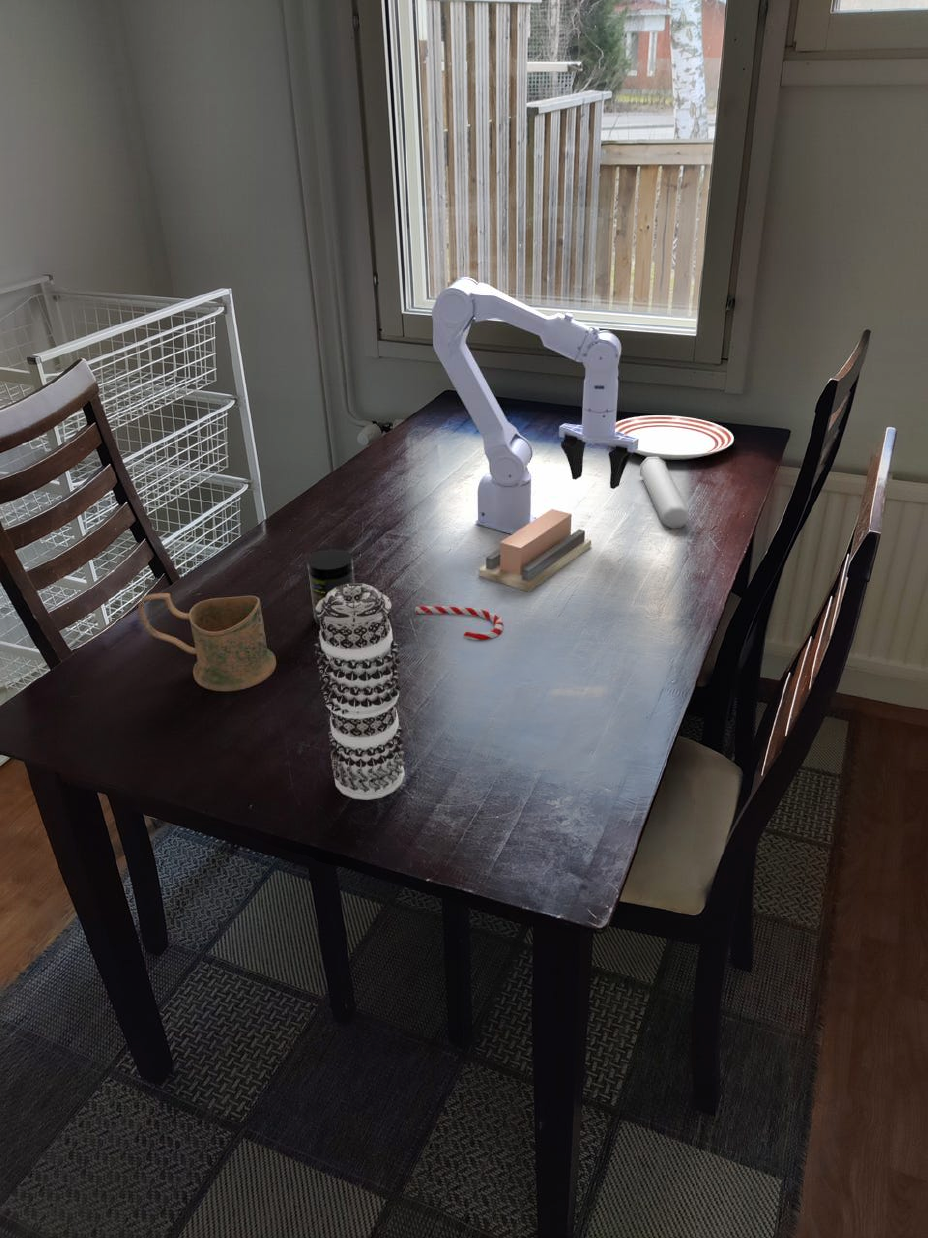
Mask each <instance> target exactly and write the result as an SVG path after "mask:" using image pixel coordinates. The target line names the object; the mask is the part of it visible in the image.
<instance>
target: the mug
mask: <svg viewBox="0 0 928 1238" xmlns="http://www.w3.org/2000/svg"><path fill="white" fill-rule="evenodd" d="M151 600H152V601H153V600H165V601H166V605H167V608H168V609H169V611H170V612H171V613H172V615H174V616H175V617H177V618H179V619H183V620H189V622H190V627H191V633H192V638H193V642H194V646H195V647H192V646H190V645H188V644H187V643H185V642H184V641H182V640H180V639H178V638H177V637H174V636H173V635H169V634H166V633H163V632H160V631H157V630H156V629H155V628H154V627H153V626H152V625H151V624H150V621H148V618H147V616H146V613H145V607H144V603H145V602H147V601H151ZM261 605H262V604H261V601H260V598H259V597H257V596H255V595H242V596H232V597H231V596H230V597H216V598H215V597H214V598H209V599H205V600H201V601H199V602H198V603H196V604H194V605H193V607H191V609H190V610H189V613H186V612H182V611H180V610H179V609H177V608H176V607H175V605H174V603H173V600H172V597H171V594H170V593H168V592H160V593H151V594H147V595H145V596H143V597H142V598H141V600H140V602H139V603H138V614H139V617H140V620H141V622H142V625H143V627H144V628H145V630H146V631H147V632H148V633H149V634H150V635H151V636H152V637H155V638H156V639H159V640H162V641H165V642H168V643H172V644H173V645H175V646H176V647H178V648H179V649H181V650H183V651H185V652H186V653H187V654H192V655H196V657H197V658H196V659H197V661H196V663H195V664H194V665H193V669H192V675H193V678H194V680H195V682H196V683H197V684H198V685H199V686H201V687H203V688H205V689H208V690H212V691H216V692H232V691H233V692H236V691H240V690H245V689H248V688H251V687H253V686H254V687H255V685H258V684H260V683H262V682H263V681H265V680H267V679H268V678H269V677H270V676H271V675H273V672H274V671H275V670H276V667H277V660H276V656H275V654H274V652H272V651H271V650H270V649H269V648H268V647H267V641H266V639H267V637H266V633H265V628H264V626H265V624H264V619H263V615H262V607H261Z"/></svg>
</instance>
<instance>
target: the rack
mask: <svg viewBox="0 0 928 1238" xmlns="http://www.w3.org/2000/svg"><path fill="white" fill-rule="evenodd" d="M585 537H586V531H585V530H583V529H580V528H579V529H576V530H575V531H574V532H573V533H571V535H570V536H569V537H567V538H566V539H564V540H563V541H561V542H560V543H559V544H557V545H556V546H554V547H553V548H551V549H550V550H548V551H547V552H546V553H544V554H543V555H541V556H540V557H538V558H537V559H536V560H534V561H533V562H531V563H530V564H528V565H527V566H526V567H524V568H523V569H522V575H517V574H514V573H511V572H507V571H504V570H501V569H500V548H498V549H497V550H496V551H494V552H492V553H490V554H489V555H488V556H486V557H485V564H484V565H483V566H481V567H480V568H479V569H478V576H480V577H482V578H484V579H487V580H492V581H495V582H497V583H500V584H504V585H506V586H510V587H513V588H515V589H519V590H522V591H526V592H531V591H533V589H536V587H538V586H540V584H542V583H544V581H546V580H547V579H549V578H550V577H551V576H553V575H554V574H556V573H557V572H558V571H559V570H561V569H562V568H563V566H564V565H565V566H567V565H568V564H569V563H571V562H573V560H574V559H576V558H577V557H579V556H580V555H581V554H583V553H584V552H585V551H587V550H588V549H589V548H591V547H592V540H591V539H589V538H585ZM590 546H591V547H590ZM568 562H569V563H568ZM567 563H568V564H567ZM565 566H564V567H565Z"/></svg>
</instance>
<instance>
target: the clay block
mask: <svg viewBox="0 0 928 1238" xmlns="http://www.w3.org/2000/svg"><path fill="white" fill-rule="evenodd" d="M572 516H573V515H572V514H571V513H568V512H564V511H562V510H557V509H553V508H551V509H549V510H548V511H546V512H545V513H543V514H542V515H540V516H539V517H537V519H535V520H534V521H532V522H531V523H529V524H528V525H526V526H525V527H523V528H521V529H520V530H518V531H517V532H515V533H514V534H510V535H509V536H507V537H506V538H504V539H503V540H501V541H499V542H500V543H499V549H500V569H501V570H504V571H507V572H511V573H514V574H517V575H522V569H523V568H524V567H526V566H527V565H528V564H530V563H531V562H533V561H534V560H536V559H537V558H538V557H540V556H541V555H543V554H544V553H546V552H547V551H548V550H550V549H551V548H553V547H554V546H556V545H557V544H559V543H560V542H561V541H563V540H564V539H566V538H567V537H569V536H570V535H571V534H572Z"/></svg>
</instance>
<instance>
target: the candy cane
mask: <svg viewBox="0 0 928 1238" xmlns="http://www.w3.org/2000/svg"><path fill="white" fill-rule="evenodd" d="M414 613H415V614H419V615H420V614H439V615H440V614H441V615H442V614H444V615H461V616H462V615H464V616H466V615H467V616H474V617H479V618H483V619H485V620H488V621H490V622H491V623H492V624H493V626H494V628H493V629H491V630H490V631H487V632H481V633H479V632H478V633H475V632H470V631H465V632H464V633H463V638H465V639H468V640H474V641H486V640H491V639H493V638H496V637H498V636H499V635H501V634H502V632H503V629H504V624H503V621H502V619H501V618H500V617H499V616H498V615H496V614H495V613H494V612H493V613H492V612H490V611H488V610H485V609H484V610H483V609H479V608H475V607H473V608H472V607H465V606H464V607H463V606H462V607H461V606H443V605H442V606H440V605H439V606H434V605H432V606H431V605H429V606H426V605H425V606H423V605H421V606H416V607H415V608H414Z"/></svg>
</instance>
